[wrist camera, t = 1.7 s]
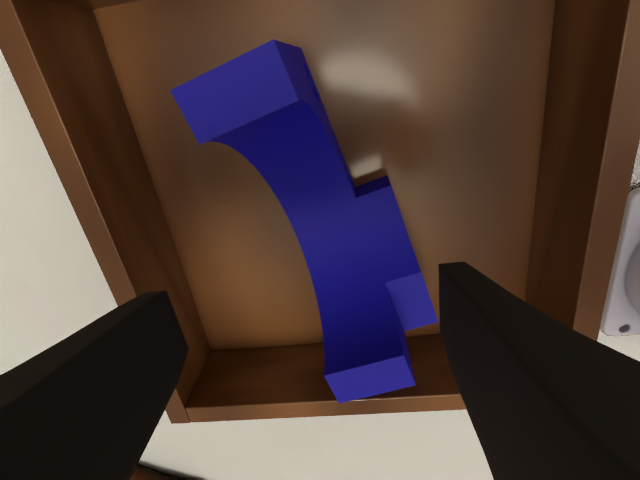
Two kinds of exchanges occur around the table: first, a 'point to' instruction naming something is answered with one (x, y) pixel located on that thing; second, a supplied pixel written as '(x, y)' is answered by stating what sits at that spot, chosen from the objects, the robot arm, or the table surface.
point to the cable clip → (321, 213)
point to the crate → (361, 159)
